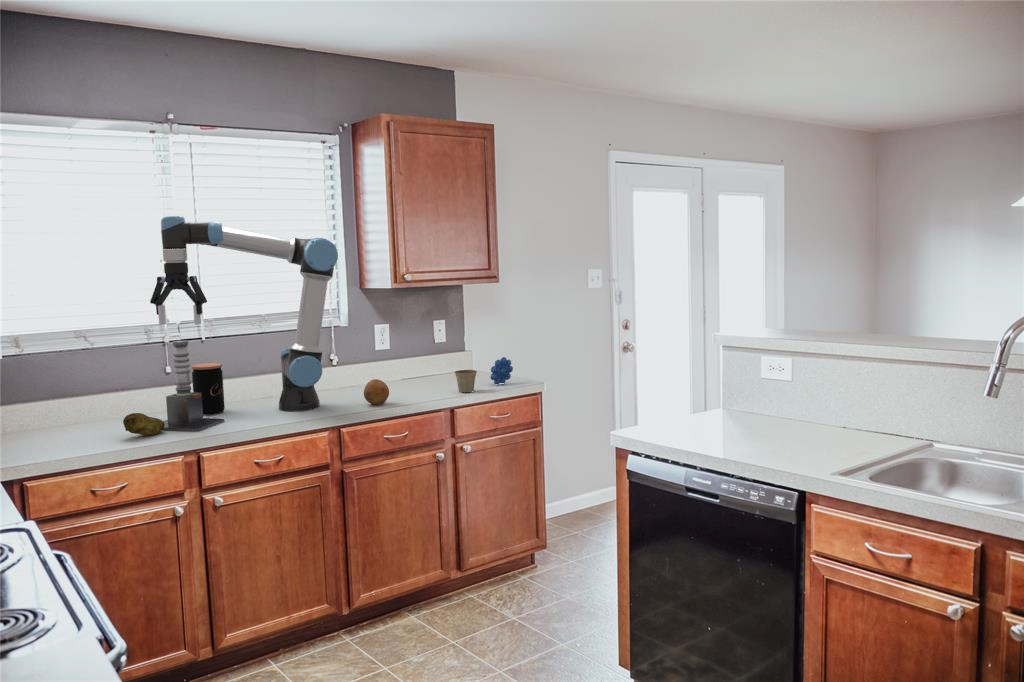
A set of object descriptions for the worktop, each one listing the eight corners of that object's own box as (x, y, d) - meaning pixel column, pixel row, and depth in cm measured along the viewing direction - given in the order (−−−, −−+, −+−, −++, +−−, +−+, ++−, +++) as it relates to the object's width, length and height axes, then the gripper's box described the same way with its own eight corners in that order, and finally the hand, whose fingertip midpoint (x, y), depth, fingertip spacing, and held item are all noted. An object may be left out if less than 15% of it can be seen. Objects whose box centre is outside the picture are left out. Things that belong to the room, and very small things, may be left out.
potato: (168, 434, 268) (167, 411, 267) (126, 440, 260) (124, 416, 259) (163, 430, 274) (161, 407, 273) (121, 436, 267) (120, 412, 266)
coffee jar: (214, 415, 298) (211, 367, 295) (188, 415, 300) (185, 367, 298) (230, 409, 308) (227, 363, 306) (205, 409, 310) (202, 362, 308)
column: (195, 403, 282) (191, 340, 280) (186, 406, 278) (182, 342, 275) (182, 403, 284) (178, 340, 281) (173, 406, 279) (169, 342, 276)
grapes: (507, 381, 360) (506, 355, 358) (516, 383, 354) (515, 356, 353) (485, 384, 353) (484, 357, 352) (494, 386, 348) (493, 359, 346)
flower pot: (475, 394, 331) (474, 373, 330) (452, 393, 333) (452, 373, 332) (479, 390, 340) (479, 369, 339) (457, 389, 342) (457, 369, 341)
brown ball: (395, 403, 314) (394, 378, 313) (377, 408, 306) (376, 382, 304) (376, 401, 319) (375, 376, 318) (358, 405, 311) (357, 380, 310)
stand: (224, 421, 287) (222, 390, 286) (197, 431, 271) (195, 398, 270) (174, 419, 291) (172, 389, 290) (145, 429, 276) (143, 397, 275)
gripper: (214, 261, 276) (219, 323, 278) (150, 262, 281) (155, 323, 284) (201, 261, 269) (206, 325, 271) (136, 263, 274) (141, 325, 276)
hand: (180, 324), depth 277 cm, fingers open, 13 cm apart
